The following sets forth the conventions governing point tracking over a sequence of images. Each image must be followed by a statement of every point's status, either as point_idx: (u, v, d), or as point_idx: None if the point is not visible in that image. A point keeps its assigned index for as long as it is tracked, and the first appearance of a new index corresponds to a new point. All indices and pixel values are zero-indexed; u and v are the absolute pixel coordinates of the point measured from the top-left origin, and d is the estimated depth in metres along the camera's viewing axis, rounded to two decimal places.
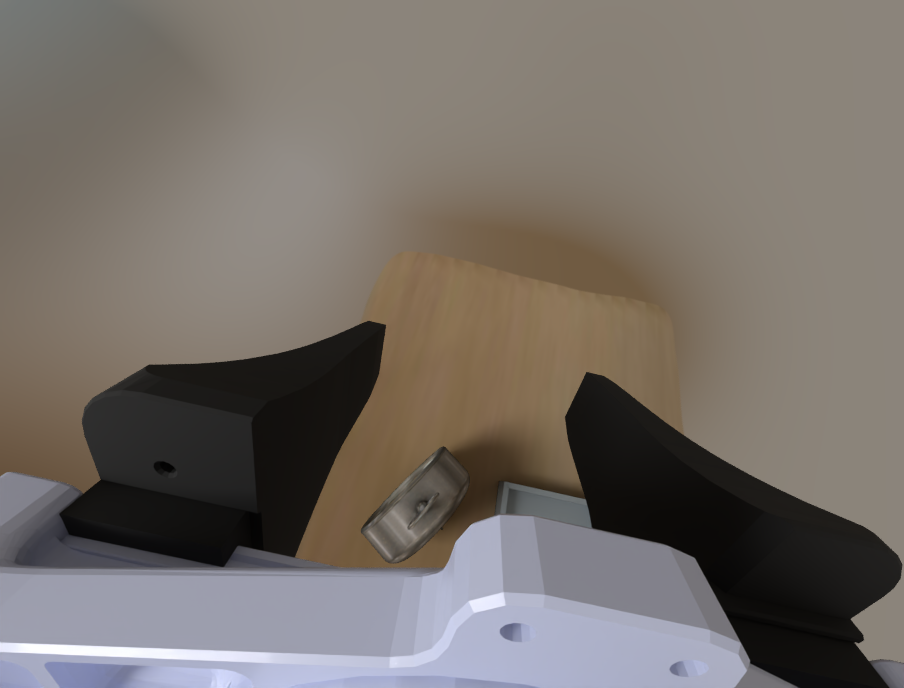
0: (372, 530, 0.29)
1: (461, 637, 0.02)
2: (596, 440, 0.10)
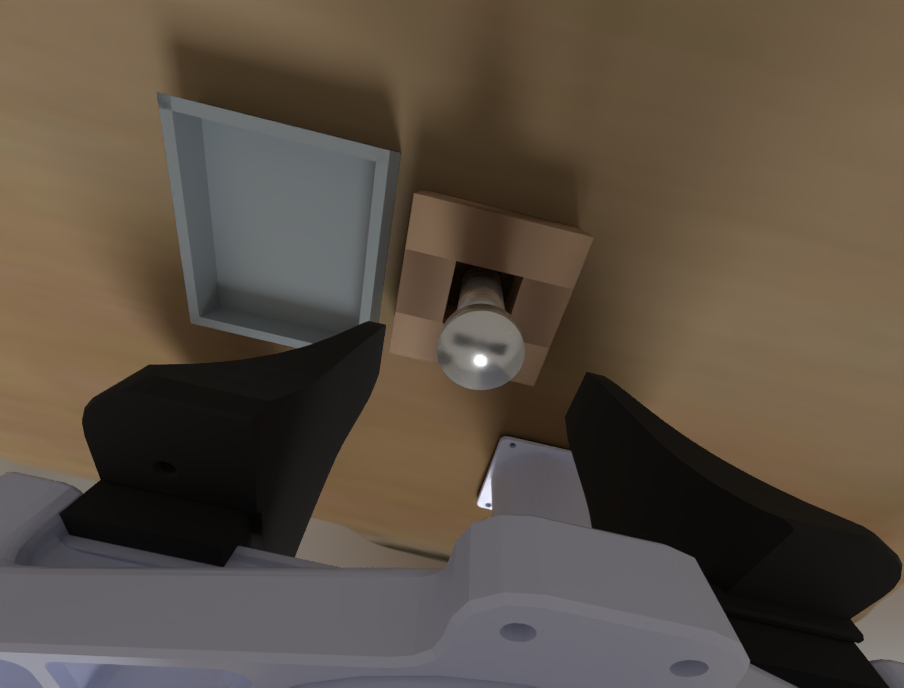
0: None
1: (461, 637, 0.02)
2: (596, 440, 0.10)
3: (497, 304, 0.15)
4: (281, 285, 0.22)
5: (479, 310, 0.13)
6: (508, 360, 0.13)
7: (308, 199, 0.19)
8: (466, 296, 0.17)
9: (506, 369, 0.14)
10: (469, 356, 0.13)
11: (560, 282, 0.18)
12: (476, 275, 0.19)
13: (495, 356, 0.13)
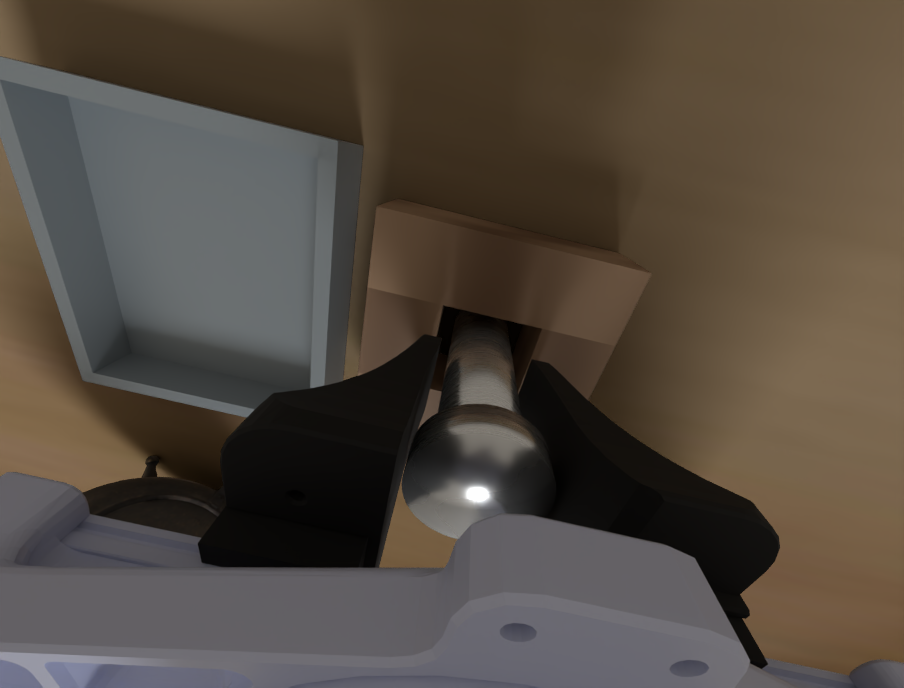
0: None
1: (461, 637, 0.02)
2: None
3: (505, 385, 0.10)
4: (208, 328, 0.16)
5: (475, 424, 0.07)
6: (526, 504, 0.08)
7: (233, 212, 0.14)
8: (457, 365, 0.11)
9: None
10: (458, 496, 0.08)
11: (596, 336, 0.12)
12: (473, 321, 0.13)
13: (503, 499, 0.08)
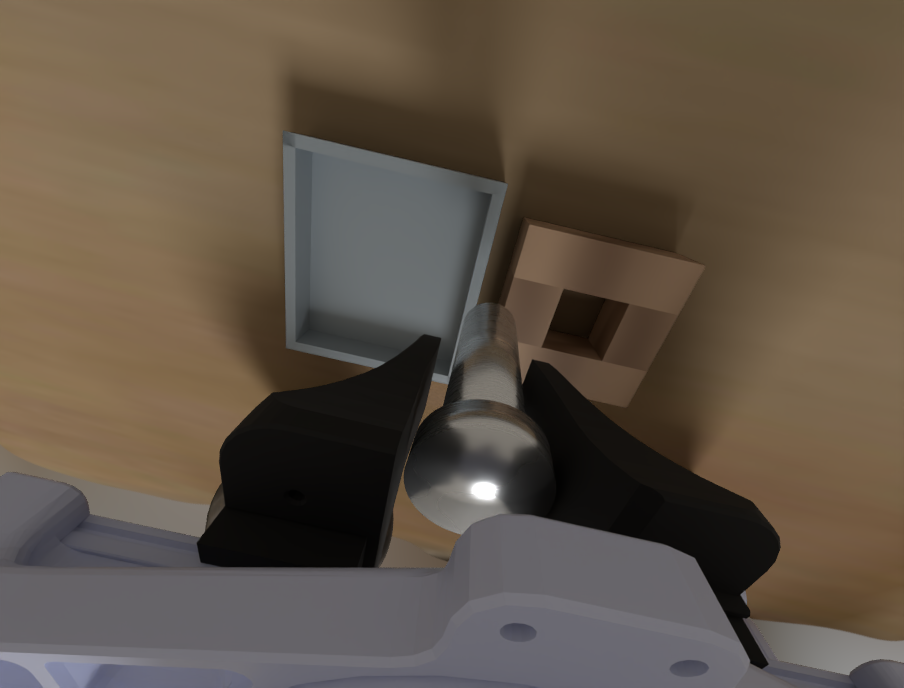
0: None
1: (461, 636, 0.02)
2: None
3: (510, 383, 0.10)
4: (372, 310, 0.22)
5: (476, 418, 0.07)
6: (526, 501, 0.08)
7: (409, 227, 0.20)
8: (463, 363, 0.11)
9: (522, 512, 0.08)
10: (459, 490, 0.08)
11: (666, 308, 0.18)
12: (481, 321, 0.13)
13: (503, 494, 0.08)
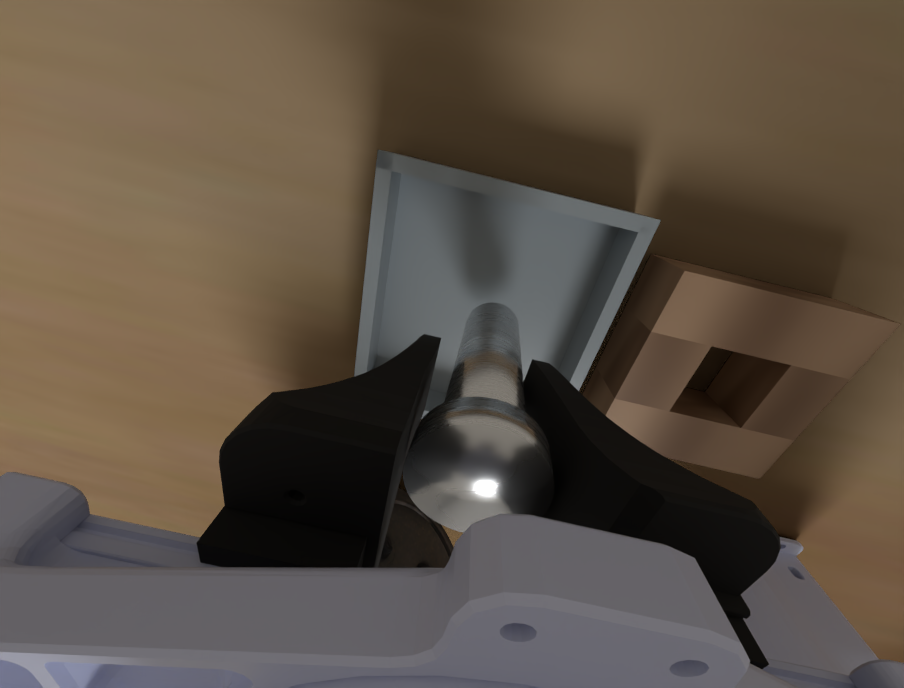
0: None
1: (461, 637, 0.02)
2: None
3: (510, 381, 0.10)
4: (452, 357, 0.19)
5: (475, 415, 0.07)
6: (525, 499, 0.08)
7: (511, 264, 0.16)
8: (464, 361, 0.11)
9: (521, 510, 0.08)
10: (457, 487, 0.08)
11: (836, 371, 0.15)
12: (483, 321, 0.13)
13: (502, 492, 0.08)
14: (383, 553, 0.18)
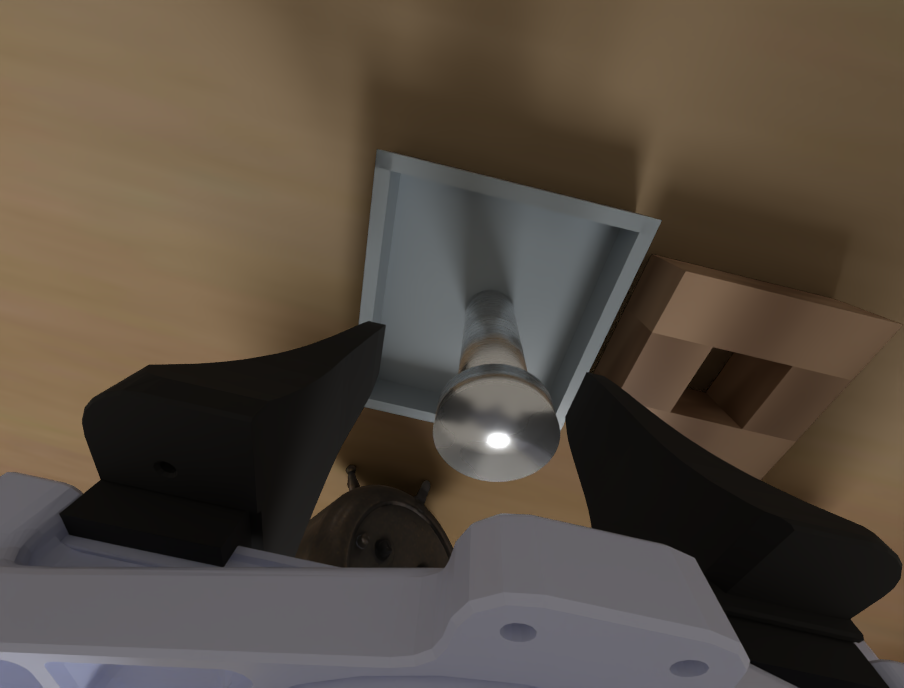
0: None
1: (461, 637, 0.02)
2: (596, 440, 0.10)
3: (515, 354, 0.11)
4: (452, 357, 0.19)
5: (494, 377, 0.09)
6: (535, 446, 0.09)
7: (511, 265, 0.16)
8: (473, 339, 0.12)
9: (532, 456, 0.10)
10: (479, 440, 0.09)
11: (838, 372, 0.15)
12: (484, 305, 0.15)
13: (516, 441, 0.09)
14: (383, 555, 0.18)
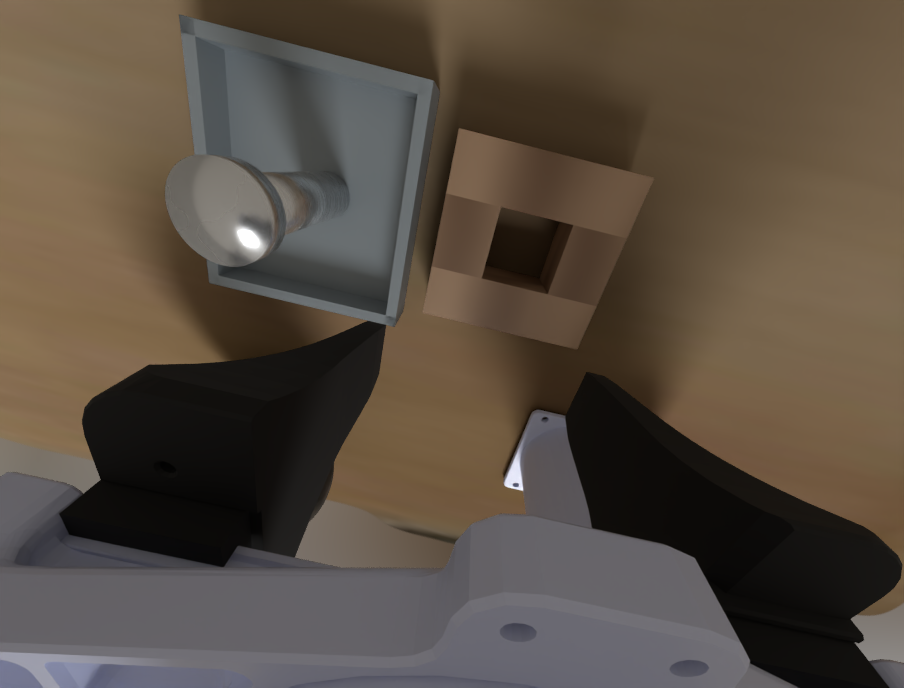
0: None
1: (461, 636, 0.02)
2: (596, 440, 0.10)
3: (279, 178, 0.13)
4: (305, 243, 0.20)
5: None
6: (253, 223, 0.11)
7: (338, 144, 0.18)
8: None
9: (254, 235, 0.11)
10: (207, 219, 0.11)
11: (613, 230, 0.17)
12: None
13: (236, 218, 0.11)
14: None
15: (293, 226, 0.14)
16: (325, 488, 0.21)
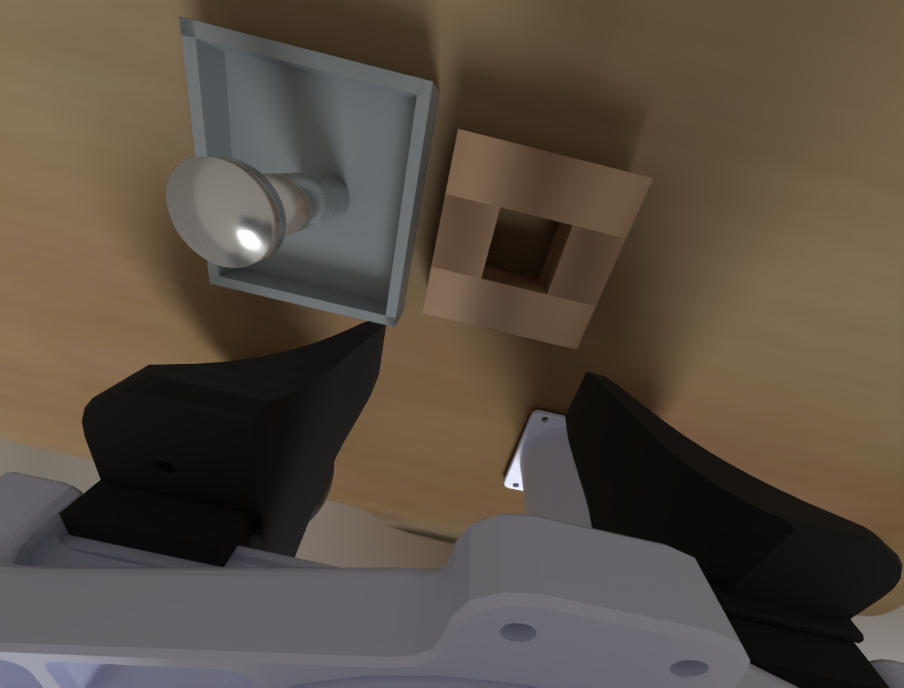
0: None
1: (461, 636, 0.02)
2: (596, 440, 0.10)
3: (279, 180, 0.13)
4: (305, 244, 0.21)
5: None
6: (253, 224, 0.11)
7: (337, 145, 0.18)
8: None
9: (254, 237, 0.11)
10: (207, 220, 0.11)
11: (612, 230, 0.17)
12: None
13: (236, 219, 0.11)
14: None
15: (293, 227, 0.14)
16: (325, 488, 0.21)
